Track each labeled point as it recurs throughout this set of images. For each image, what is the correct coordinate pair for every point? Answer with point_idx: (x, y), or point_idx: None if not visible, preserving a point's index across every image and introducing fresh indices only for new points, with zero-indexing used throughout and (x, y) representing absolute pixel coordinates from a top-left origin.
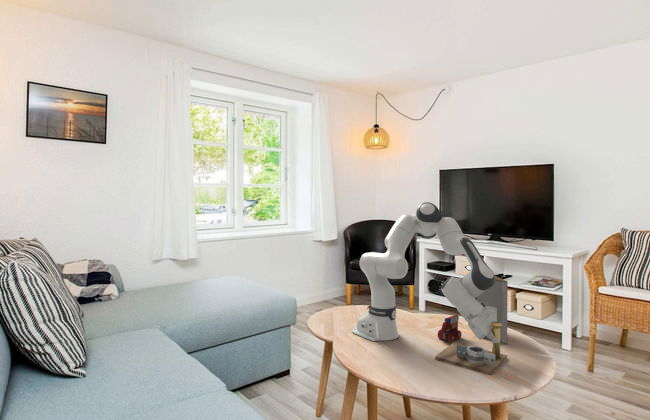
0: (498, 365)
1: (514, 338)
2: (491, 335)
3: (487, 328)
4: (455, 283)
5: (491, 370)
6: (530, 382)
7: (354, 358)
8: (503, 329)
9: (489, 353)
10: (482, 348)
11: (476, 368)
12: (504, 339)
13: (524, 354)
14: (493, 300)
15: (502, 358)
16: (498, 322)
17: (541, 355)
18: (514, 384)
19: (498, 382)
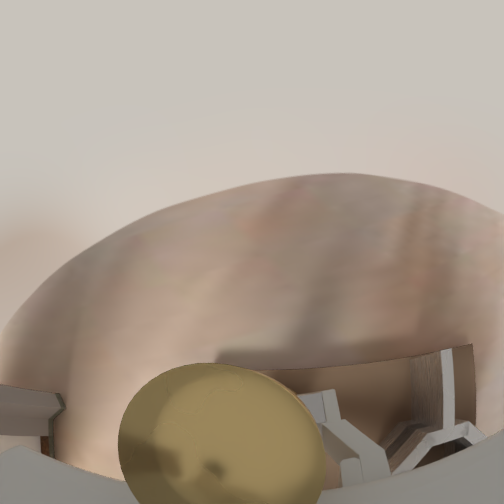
0: (364, 363)
1: (10, 370)
2: (375, 446)
3: (435, 500)
4: None
5: (460, 351)
6: (404, 204)
7: None
8: (10, 403)
9: (453, 385)
10: (405, 461)
11: (474, 415)
12: (47, 402)
13: (120, 308)
14: None
15: (269, 375)
16: (151, 438)
17: (104, 252)
18: (464, 242)
19: (494, 292)
